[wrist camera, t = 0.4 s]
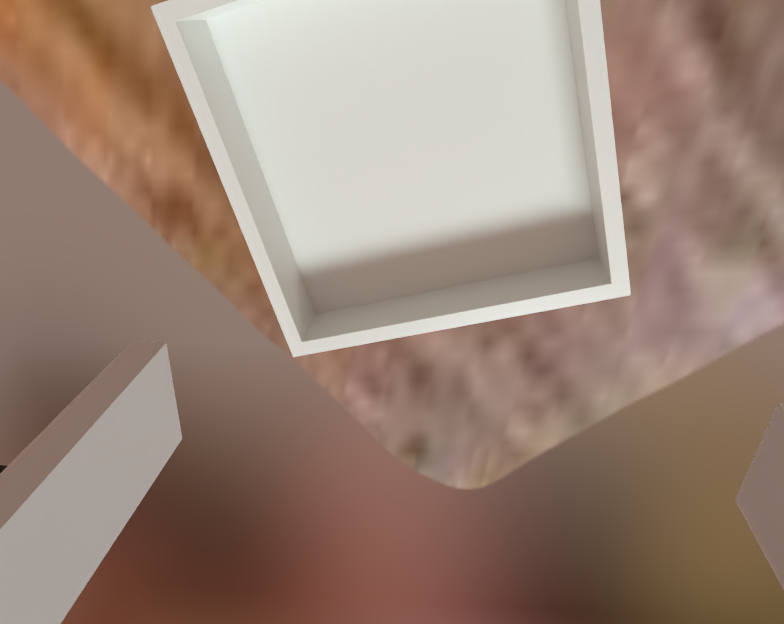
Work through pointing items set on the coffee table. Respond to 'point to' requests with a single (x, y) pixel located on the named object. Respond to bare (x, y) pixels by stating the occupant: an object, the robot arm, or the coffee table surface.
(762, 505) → the robot arm
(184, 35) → the white bin
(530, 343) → the coffee table surface
